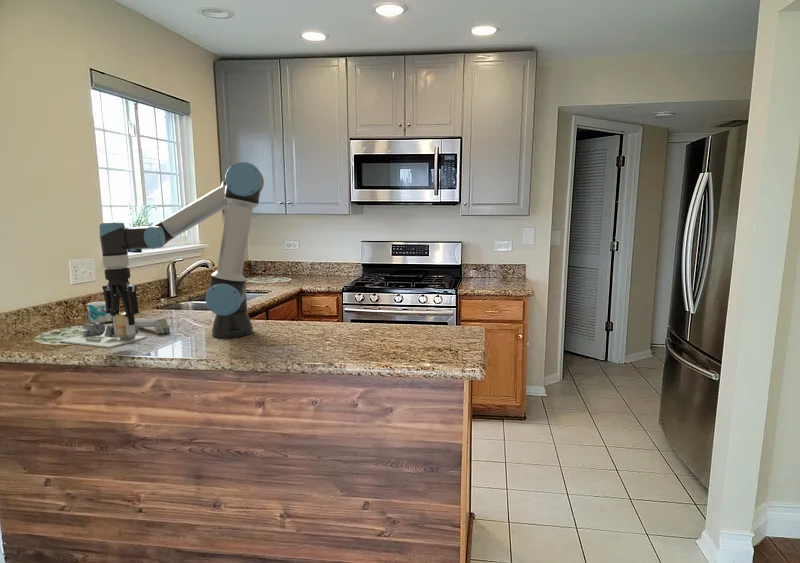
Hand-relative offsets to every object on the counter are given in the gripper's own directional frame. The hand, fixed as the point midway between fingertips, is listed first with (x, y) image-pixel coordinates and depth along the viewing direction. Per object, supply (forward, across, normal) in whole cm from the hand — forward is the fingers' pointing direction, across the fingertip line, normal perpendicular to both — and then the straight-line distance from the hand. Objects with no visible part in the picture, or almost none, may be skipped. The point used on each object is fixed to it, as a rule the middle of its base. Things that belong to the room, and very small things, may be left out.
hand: (125, 333), depth 171 cm
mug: (+5, +51, -30) cm, 59 cm away
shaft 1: (+4, +27, -8) cm, 28 cm away
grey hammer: (+6, +16, -24) cm, 29 cm away
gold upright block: (+1, 0, 0) cm, 1 cm away
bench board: (+5, +19, -6) cm, 20 cm away
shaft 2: (+4, +11, -8) cm, 14 cm away
